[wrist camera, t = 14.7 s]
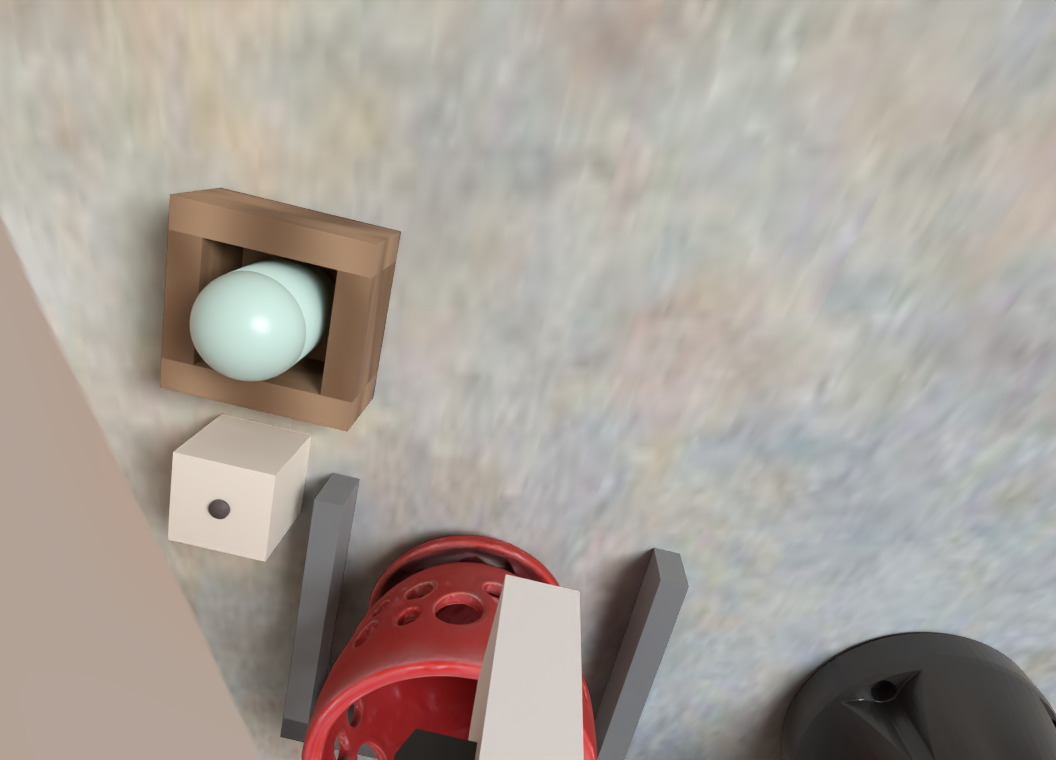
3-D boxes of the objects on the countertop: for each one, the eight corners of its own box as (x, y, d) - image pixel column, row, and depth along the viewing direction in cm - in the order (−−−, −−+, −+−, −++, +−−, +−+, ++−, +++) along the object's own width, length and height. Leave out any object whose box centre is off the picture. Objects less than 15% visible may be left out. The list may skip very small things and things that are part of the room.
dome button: (345, 267, 33) (290, 297, 27) (332, 359, 35) (277, 409, 28) (247, 243, 33) (169, 268, 26) (239, 337, 35) (163, 382, 28)
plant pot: (418, 714, 44) (365, 915, 32) (336, 543, 40) (244, 702, 28) (616, 670, 42) (634, 867, 30) (550, 485, 38) (543, 631, 26)
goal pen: (679, 554, 39) (688, 586, 36) (603, 767, 44) (605, 809, 41) (333, 473, 38) (314, 499, 35) (299, 698, 44) (280, 736, 41)
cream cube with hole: (312, 434, 38) (273, 477, 33) (301, 511, 39) (263, 564, 34) (222, 413, 38) (170, 453, 33) (215, 491, 39) (165, 541, 34)
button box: (400, 231, 34) (376, 244, 29) (373, 397, 37) (347, 431, 32) (220, 187, 33) (169, 194, 29) (207, 358, 36) (159, 387, 32)
